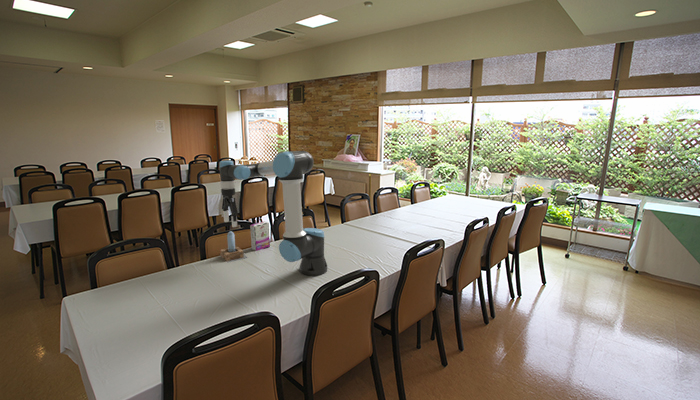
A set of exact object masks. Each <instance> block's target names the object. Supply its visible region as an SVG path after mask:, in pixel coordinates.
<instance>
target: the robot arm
mask: <svg viewBox="0 0 700 400" xmlns="http://www.w3.org/2000/svg"><path fill="white" fill-rule="evenodd" d="M314 161H315V160H314V157H313V155H312V154H311V153H309V152H308V151H307V150H291V151H290V150H289V151H288V150H287V151H282V152H279V153H277V154H276V156H275V157H274V158H273V160H269V161H267V160H266V161H262V162H256V163H250V164H239V165H238V164H234V161H233V160H221V161H219V163H218V164H219V169H218V170H219V175H220V176H219V177H220V188H221V189H220V191H221V194H220V195H221V196H222V202H221V203H222V204H221V210H222V211H223V222H224V223H228V222H230V218H231V227H232V228H236V227H238V215H239V211H238V208H237V204H236V198H235V197H233V196H235V195H236V188H235V186H236V185H235V184H236V180H240V181H241V180H248V179H250V178H258V177H264V176H268V175H269V176H270V175H275V176H276V177H278V181H279V182H280V183H281V184H282V198H283V209H284V225H285V226H284V228H285V231H284V233H283V234H282V241H280V243H279V244H278V252H279V254H280V256H281V257H282V258H283V259H284V260H285V261H287V262H289V263H295V262H298V261H300V260H301V261H300V264H299V267H298V268H299V273H301V274H302V275H305V276H312V277H313V276H320V275H323V274H325V273H327V271H328V263H327V260H326V258H325V231H324V230H322V229H320V228H315V227H305V228H304V222H303V208H302V207H303V206H302V194H301V193H302V192H301V190H302V189H301V182H302V181H303V179H304V174H307V173H309V172H311V170H312V169H313V167H314V163H315V162H314ZM229 210H230V214H231V215H230V217H229Z"/></svg>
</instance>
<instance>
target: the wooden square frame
mask: <svg viewBox="0 0 700 400" xmlns="http://www.w3.org/2000/svg"><path fill="white" fill-rule="evenodd" d="M243 254H244V250H243V249H241V248H240V247H239V246H235V252H230V253H228V247H227V248H222V249H220V255H221V256H220V257H221V258H222V259H223V260H225V261H226V262H227V261H230V260H234V259H239V258H244V255H245V254H244V255H243Z"/></svg>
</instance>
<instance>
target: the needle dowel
mask: <svg viewBox="0 0 700 400" xmlns="http://www.w3.org/2000/svg"><path fill="white" fill-rule="evenodd" d="M226 237H227V238H226V239H227V248H228V253H230V252H235V247H236V239H235V238H236V237H235V233H234V232H233V231H231V230H230V231H228V233H226Z"/></svg>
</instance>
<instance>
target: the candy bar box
mask: <svg viewBox="0 0 700 400" xmlns="http://www.w3.org/2000/svg"><path fill="white" fill-rule="evenodd" d="M269 224H270V223H269V222H268V221H261V222H256V223H254V224H251V225H250V240H251V241H250V242H251V250H253V251H256V252H257V251H261V250H264V249H268V248H270V246H271V242H270V225H269Z"/></svg>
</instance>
